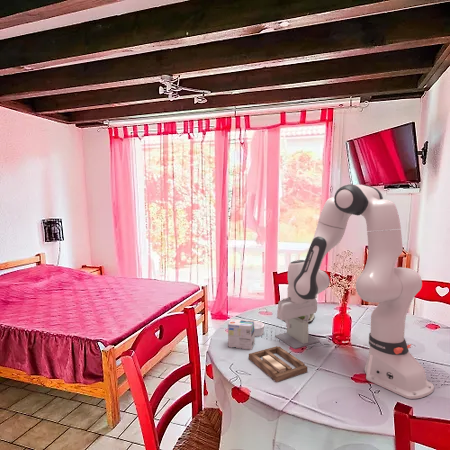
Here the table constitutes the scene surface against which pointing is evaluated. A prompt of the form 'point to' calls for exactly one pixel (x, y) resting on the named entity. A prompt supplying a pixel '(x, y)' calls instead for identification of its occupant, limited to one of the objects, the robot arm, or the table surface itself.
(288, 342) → the grey rubber mat
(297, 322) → the upright cream panel
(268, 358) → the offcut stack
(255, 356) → the walnut rack
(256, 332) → the ramekin
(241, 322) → the light bulb box
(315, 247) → the robot arm
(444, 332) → the table surface
